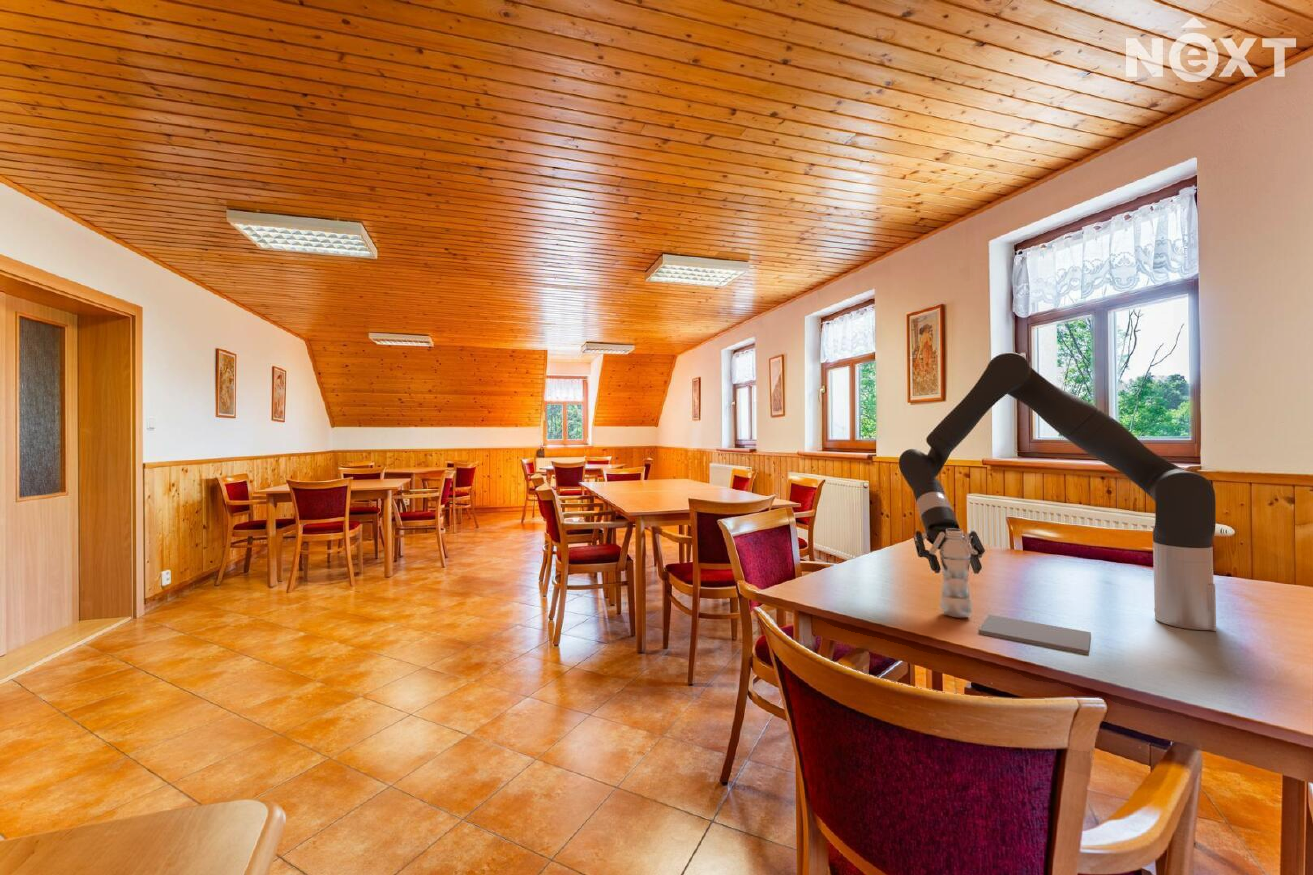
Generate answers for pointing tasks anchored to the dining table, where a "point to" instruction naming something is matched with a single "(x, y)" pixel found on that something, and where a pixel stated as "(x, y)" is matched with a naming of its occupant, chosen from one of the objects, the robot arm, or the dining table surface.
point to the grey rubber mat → (1037, 634)
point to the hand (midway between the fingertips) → (957, 571)
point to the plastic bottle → (955, 575)
